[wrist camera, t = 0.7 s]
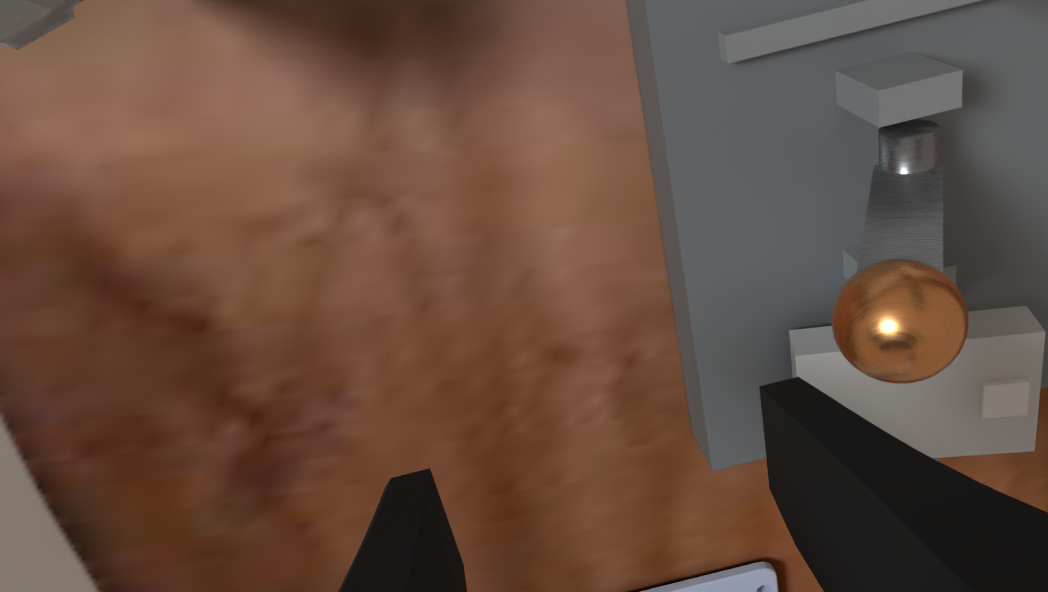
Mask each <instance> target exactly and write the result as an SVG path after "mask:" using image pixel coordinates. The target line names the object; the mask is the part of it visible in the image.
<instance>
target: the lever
mask: <svg viewBox="0 0 1048 592" xmlns="http://www.w3.org/2000/svg"><path fill="white" fill-rule="evenodd" d="M938 135H939V126H938V124H936V123H935V122H932V121H928V120H921V119H912V120H908V121H904V122H900V123H896V124H892V125H888V126H884V127H881V128H880V129H879V130H878V148H879V165H874V168H873V174H872V180H871V186H870V192H869V199H868V205H867V211H866V217H865V223H864V229H863V235H862V241H861V247H860V254H859V260H858V266H857V272H856V273H855V274H854V275H853V276H852V277H851V278H849V279H848V280H847V281H846V283H845V284H844V285H843V287H842V288H841V290H840V291H839V293H838V295H837V297H836V300H835V302H834V305H833V310H832V322H831V324H832V331H833V336H834V339H835V342H836V344H837V346H838V348H839V350H840V352H841V353H842V355H843V356H844V357H845V358H846V360H847V361H848V362H849V363H850V364H851V365H852V366H853V367H854V368H856V369H857V370H859V371H860V372H861V373H863V374H865V375H867V376H869V377H871V378H873V379H876V380H879V381H882V382H887V383H895V384H907V383H914V382H919V381H922V380H926V379H928V378H931V377H933V376H935V375H937V374H938V373H940V372H941V371H943V370H944V369H945V368H947V367H948V366H949V365H950V364H951V363H952V362H953V361H954V360H955V359H956V357H957V356H958V354H959V353H960V352H961V350H962V348H963V346H964V343H965V341H966V337H967V334H968V325H969V319H968V311H967V307H966V303H965V301H964V298H963V296H962V294H961V293H960V291H959V289H958V288H957V286H956V285H955V284H954V283H953V282H952V281H951V280H950V279H949V278H948V277H947V276H946V275H945V274H944V273H943V161H942V162H938Z"/></svg>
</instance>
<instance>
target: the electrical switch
mask: <svg viewBox="0 0 1048 592" xmlns="http://www.w3.org/2000/svg"><path fill="white" fill-rule="evenodd" d="M81 1H83V0H0V45H2V46H6V47H10V48H13V49H17V50H19V49H21V48H22V47H24V46H26V45H28V44H29V43H31V42H33V41H35V40H36V39H38V38H40V37H42V36H43V35H45V34H47V33H48V32H50V31H52V30H54V29H55V28H57V27H59V26H61V25H62V24H64V23H66V22H68V21H69V20H71V19H73V18H75V16H74V13H73V10H72V8H73V7H74V6H76V5H77V4H78V3H80V2H81Z"/></svg>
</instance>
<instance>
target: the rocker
mask: <svg viewBox="0 0 1048 592" xmlns="http://www.w3.org/2000/svg"><path fill="white" fill-rule="evenodd" d="M968 319H969V325H968V334H967V337H966V341H965V343H964V346H963V348H962V350H961V352H960V353H959V354H958V356H957V357H956V359H955V360H954V361H953V362H952V363H951V364H950V365H949V366H948V367H947V368H945V369H944V370H943V371H941V372H940V373H938V374H937V375H935V376H933V377H931V378H928V379H926V380H922V381H919V382H914V383H907V384H895V383H887V382H882V381H879V380H876V379H873V378H871V377H869V376H867V375H865V374H863V373H861V372H860V371H859V370H857V369H856V368H854V367H853V366H852V365H851V364H850V363H849V362H848V361H847V360H846V358H845V357H844V356H843V355H842V353H841V352H840V350H839V348H838V346H837V344H836V342H835V339H834V336H833V331H832V326H825V327H816V328H806V329H796V330H789V338H790V350H791V363H792V376H793V378H795V377H800V378H801V379H803V380H804V381H806V382H808V383H809V384H811V385H812V386H814V387H816V388H817V389H819V390H820V391H822V392H823V393H825V394H827V395H828V396H830V397H831V398H833V399H834V400H836V401H837V402H839V403H841V404H842V405H844V406H845V407H847V408H848V409H850V410H852V411H853V412H855V413H856V414H858V415H860V416H861V417H863V418H864V419H866V420H867V421H869V422H871V423H872V424H874V425H876V426H877V427H879V428H880V429H882V430H884V431H885V432H887V433H889V434H891V435H892V436H894V437H896V438H897V439H899V440H901V441H903V442H904V443H906V444H908V445H909V446H911V447H913V448H915V449H916V450H918V451H920V452H922V453H924V454H925V455H927V456H929V457H931V458H941V457H956V456H971V455H986V454H1001V453H1016V452H1031V451H1035V442H1036V431H1037V420H1038V409H1039V398H1040V387H1041V376H1042V366H1043V355H1044V344H1045V333H1046V332H1045V330H1044V329H1043V328H1042V326H1041V325H1040V324H1039V322H1038V321H1037V319H1036V318H1035V317H1034V315H1033V314H1032V313H1031V311H1030V310H1029V309H1028V307H1027V306H1018V307H1008V308H999V309H989V310H979V311H970V312H968Z"/></svg>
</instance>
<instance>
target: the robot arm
mask: <svg viewBox="0 0 1048 592" xmlns="http://www.w3.org/2000/svg"><path fill="white" fill-rule="evenodd" d="M759 389H760V399H761V409H762V419H763V428H764V438H765V448H766V458H767V468H768V477H769V487H770V490H771V492H772V495H773V497H774V499H775V501H776V504H777V506H778V508H779V510H780V512H781V515H782V517H783V519H784V521H785V523H786V526H787V528H788V530H789V532H790V534H791V536H792V538H793V540H794V542H795V545H796V546H797V548H798V550H799V551H800V553H801V555H802V556H803V558H804V560H805V561H806V563H807V565H808V566H809V568H810V570H811V571H812V573H813V574H814V576H815V578H816V579H817V581H818V583H819V584H820V586H821V587H822V589H823V591H824V592H1048V513H1047V512H1045V511H1043V510H1040V509H1038V508H1036V507H1033V506H1031V505H1029V504H1026V503H1024V502H1022V501H1019V500H1017V499H1015V498H1012V497H1010V496H1008V495H1005V494H1003V493H1001V492H999V491H996V490H994V489H992V488H990V487H988V486H986V485H984V484H982V483H979V482H977V481H975V480H973V479H971V478H969V477H967V476H966V475H964V474H962V473H960V472H958V471H956V470H954V469H952V468H950V467H948V466H946V465H944V464H942V463H940V462H938V461H936V460H934V459H933V458H931V457H929V456H927V455H925V454H924V453H922V452H920V451H918V450H916V449H915V448H913V447H911V446H909V445H908V444H906V443H904V442H903V441H901V440H899V439H897V438H896V437H894V436H892V435H891V434H889V433H887V432H885V431H884V430H882V429H880V428H879V427H877V426H876V425H874V424H872V423H871V422H869V421H867V420H866V419H864V418H863V417H861V416H860V415H858V414H856V413H855V412H853V411H852V410H850V409H848V408H847V407H845V406H844V405H842V404H841V403H839V402H837V401H836V400H834V399H833V398H831V397H830V396H828V395H827V394H825V393H823V392H822V391H820V390H819V389H817V388H816V387H814V386H812V385H811V384H809V383H808V382H806V381H804V380H803V379H801V378H800V377H795V378H791V379H787V380H783V381H779V382H775V383H771V384H767V385H763V386H759ZM762 585H764V586H762ZM760 586H762V587H760ZM338 592H467V588H466V580H465V573H464V565H463V562H462V559H461V556H460V553H459V550H458V548H457V545H456V542H455V539H454V536H453V533H452V530H451V528H450V525H449V522H448V519H447V516H446V513H445V510H444V508H443V505H442V502H441V499H440V496H439V493H438V490H437V488H436V485H435V482H434V479H433V476H432V473H431V470H430V469H426V470H422V471H418V472H414V473H410V474H406V475H402V476H398V477H394V478H391V479H390V481H389V482H388V484H387V485H386V487H385V490H384V492H383V495H382V497H381V500H380V502H379V504H378V507H377V509H376V512H375V514H374V516H373V519H372V521H371V524H370V526H369V528H368V530H367V533H366V535H365V537H364V539H363V542H362V544H361V546H360V548H359V550H358V552H357V555H356V557H355V559H354V561H353V563H352V565H351V567H350V569H349V571H348V573H347V575H346V577H345V579H344V581H343V583H342V586H341V588H340V589H339V591H338ZM640 592H778V583H777V575H776V572H775V570H774V568H773V566H772V565H771V564H769V563H767V562H756V563H752V564H748V565H744V566H740V567H736V568H732V569H728V570H724V571H720V572H716V573H712V574H708V575H704V576H700V577H696V578H692V579H688V580H684V581H680V582H676V583H672V584H668V585H664V586H660V587H656V588H652V589H648V590H644V591H640Z"/></svg>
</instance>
